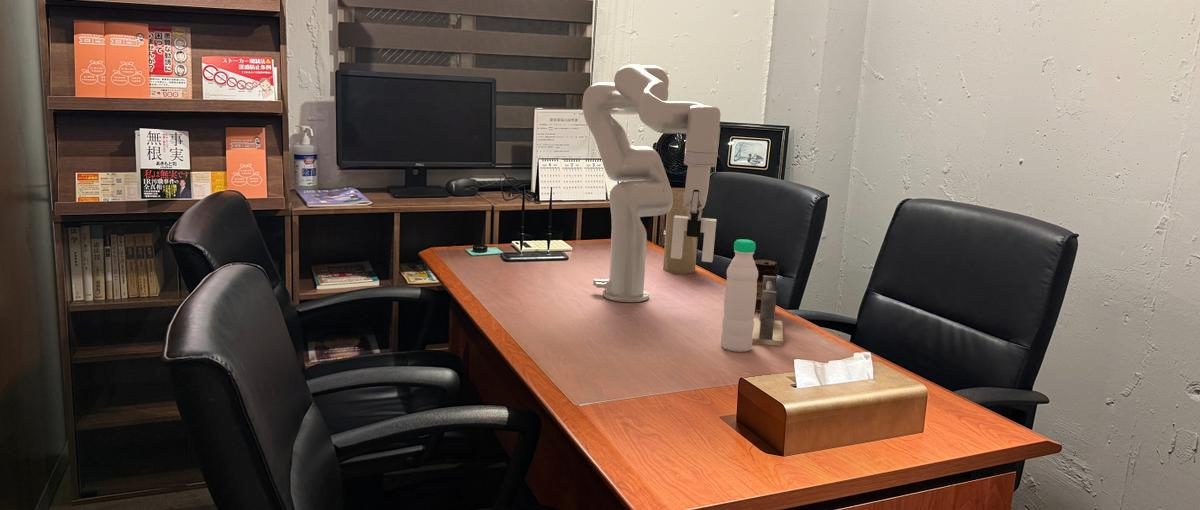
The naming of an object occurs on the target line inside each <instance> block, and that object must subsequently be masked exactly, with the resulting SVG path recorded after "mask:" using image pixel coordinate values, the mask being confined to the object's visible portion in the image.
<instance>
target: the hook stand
mask: <svg viewBox="0 0 1200 510" xmlns="http://www.w3.org/2000/svg"><path fill="white" fill-rule="evenodd" d="M775 281H776V282H777V278H776V276H765V275H763V286H762V297H761V308H760V311H759V318H757V317H756V318H753V319H754V328H753V333H752V337H753V340H752V344H758V345H768V346H777V347H784V334H783V333H784V332H783V321H782V320H777V319H776V320H775V314H776V304H777V295H778V293H777V290H776V286H775Z"/></svg>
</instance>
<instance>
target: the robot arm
mask: <svg viewBox="0 0 1200 510" xmlns="http://www.w3.org/2000/svg"><path fill="white" fill-rule="evenodd" d="M669 85H670V81H669V77H668V74H667V72H666V71H665V70H664V69H663V68H661V67H660V66H657V65H644V64H643V65H640V64H628V65H624V66H622V67H620V68H619V69H618V70H617V71H616V73H615V75H614V78H613V82H598V83H595V84H591V85H589V86H588V87H587V89H585V91H584V93H583V97H582V113H583V117H584V120H585V123H586V125H587V127H588V129H589V130H590V133H591V134H592V136H593V138H594V140H595V142H596V143H595V144H596V146H597V149H598V153H599V155H600V159H601V161H602V162H601V163H602V165H603V168H604V171H605V174H606V175H607V177H608V178H609V179H610V180H611V181H613V182H619V183H617V184H615V185H614V186H613V187H612V188H611V190H610V193H609V206H610V207H609V208H610V215H611V216H610V217H611V233H610V234H611V235H610V236H611V237H610V256H609V257H610V260H609V275H608V276H609V277H608V278H605V279H601V278H600V279H598V278H594V279H593V283H592V285H593V286H594V287H595V288H598V289H601V288H602V289H604V290H602V296H603V297H604V298H605V299H607V300H610V301H614V302H619V303H638V302H640V303H641V302H644V301H647V300H648V299H649V298H650V293H649V291H647V290H645V289H644V288H645V287H644V286H645V285H644V284H645V275H646V274H645V273H646V272H645V271H646V270H645V269H646V259H647V258H646V256H647V254H646V253H647V239H648V238H647V237H648V236H647V235H648V234H647V230H646V228H645V225H644V224H643V221H642V220H641V218H644V217H654V216H655V217H656V216H663V215H667V213H668V212H669V211H670V210H671V208H672V205H673V194H672V190H671V188H672V186H671V185H670V181H669V179H668V176H667V173H666V170H665V167H664V163H663V161H662V158H661V156H660V154H659V153H658V151H656V149H654V148H653V147H649V146H645V145H641V146H639V145H638V146H635V145H633V144H631V143H630V141H629V138H628V136H627V133H626V131H625V129H624V127H623V126H622V125H621V124H620V123H619V121H617V120H616V119H615V118H614V117H613V116H612V115H630V116H633V115H638V117H639V119H640V121H641V122H642V123H643V124H644V125H645V126H647V127H648V128H649V129H651V130H653V131H655V132H657V133H659V134H685V144H684V145H685V147H684V158H683V165H685V166H687V171H686V177H685V187H684V188H685V196H684V204H683V206H684V207H686V206H688V205H689V203H690V208H689V219H688V222H687V234H686V235H687V236H689V237H698V238H700V236H701V234H702V233H701V232H700V230H701V221H700V218H703V217H702V215H703V209H704V208H705V205H706V203H707V197H708V192H709V186H710V177H711V168H714V167H717V157H718V149H719V148H718V146H719V138H720V137H719V136H720V126H721V125H720V124H721V110H720V109H719V107H717V106H713V105H706V104H705V105H704V104H703V103H700V102H695V101H668V99H669Z"/></svg>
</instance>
